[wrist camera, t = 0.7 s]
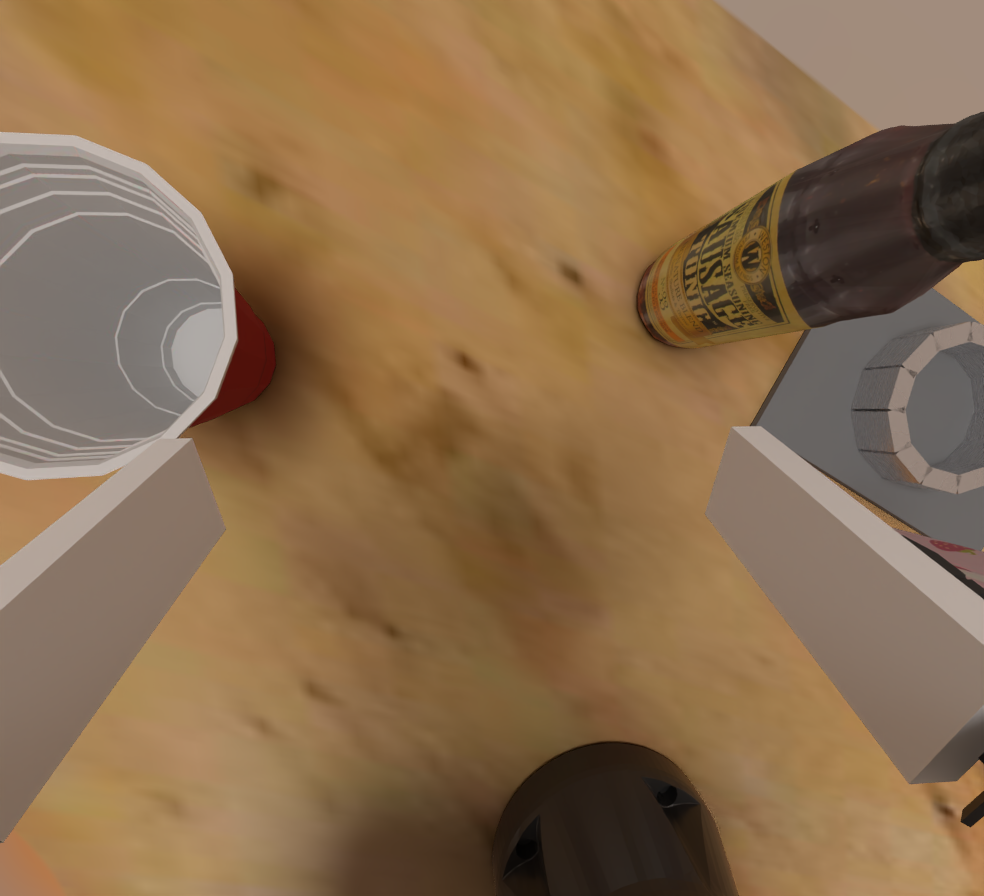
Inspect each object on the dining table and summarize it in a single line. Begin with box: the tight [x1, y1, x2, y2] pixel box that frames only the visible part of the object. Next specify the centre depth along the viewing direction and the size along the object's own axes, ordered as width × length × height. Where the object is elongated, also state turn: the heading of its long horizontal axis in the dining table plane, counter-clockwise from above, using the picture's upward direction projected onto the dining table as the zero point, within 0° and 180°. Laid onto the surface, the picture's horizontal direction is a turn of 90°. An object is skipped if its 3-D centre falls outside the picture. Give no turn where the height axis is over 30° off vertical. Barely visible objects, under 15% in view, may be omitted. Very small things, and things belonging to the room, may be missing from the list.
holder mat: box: [751, 288, 984, 551], centre depth 31 cm, size 20×14×1 cm
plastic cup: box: [0, 132, 276, 480], centre depth 19 cm, size 11×11×12 cm
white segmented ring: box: [850, 322, 984, 494], centre depth 29 cm, size 10×10×2 cm
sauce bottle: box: [637, 112, 984, 348], centre depth 18 cm, size 6×6×20 cm
